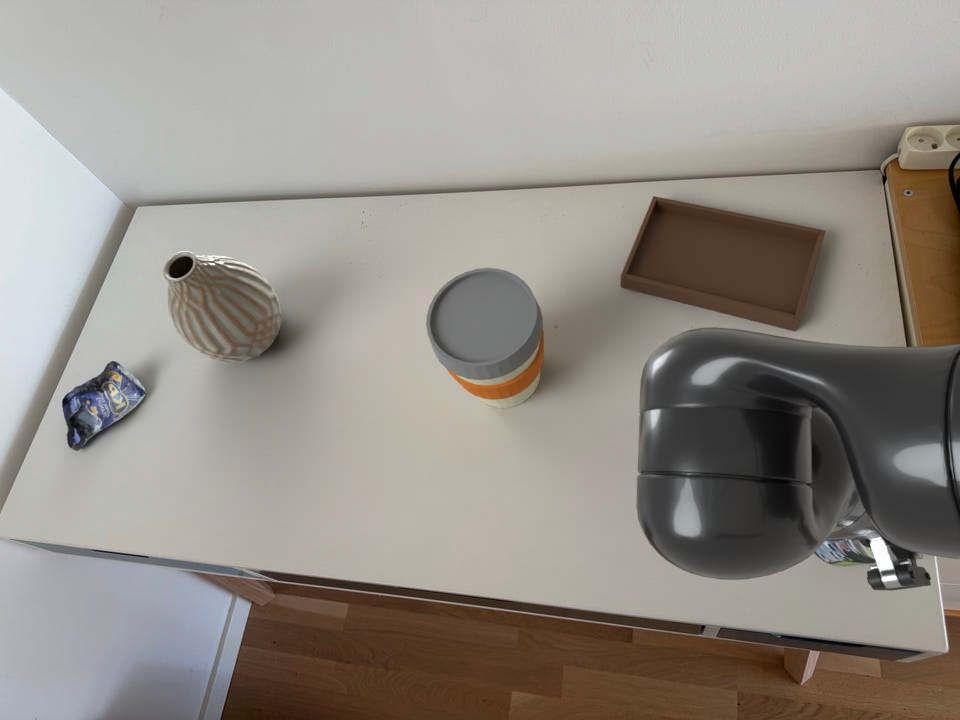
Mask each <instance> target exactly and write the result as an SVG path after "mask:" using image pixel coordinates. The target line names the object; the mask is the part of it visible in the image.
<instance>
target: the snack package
mask: <svg viewBox="0 0 960 720" xmlns="http://www.w3.org/2000/svg"><path fill="white" fill-rule="evenodd" d="M146 394H147V391H146V388H145V387H144V385H143V384H142V383H141V382H140V380H139V379H138V378H137V377H136V376H135V375H133V374H132V373H131V372H130V371H128V370H127V369H126V368H125V367H124V366H123V365H121V363H120V362H118V361H115V360H111V361H109V362H108V363H107V364H106V365H105V367H104V369H103V371H101V373H100V374H98V375H97V376H95V377H92V378H91V379H89V380H87V381H85V382H84V383H82V384H81V385H76V386H75V387H73V389H72V390H71V391H69V392H67V393H66V394H65V395H64V397H63V398H62V401H61V408H62V413H63V417H64V420H65V424H66V426H67V428H68V429H67V433H66V437H67V438H66V441H67V445H68V447H69V449H71V450H73V451H75V452H78V451H80V450H81V449H83V447H84V445H86V444H87V442H88V441H89V440H90V439H92V438H93V436H95V435H97V434H98V433H100V432H101V431H102V430H104V429H106V428H108V427H110V426H111V425H113V424H114V423H115V422H117V421H119V420H121V419H122V418H124V417H125V416H126V415H128V414H129V413H130V412H131V411H132V410H134V409H135V408H136V407H137V406H138V405H139V403H140V402H141V401H143V399H144V398H145V396H146Z"/></svg>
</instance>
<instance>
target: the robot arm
mask: <svg viewBox="0 0 960 720" xmlns="http://www.w3.org/2000/svg"><path fill="white" fill-rule="evenodd" d="M641 372H642V373H641V376H640V382H639V383H640V384H639V385H640V386H639V405H638V406H639V408H638V409H639V410H638V413H639V416H638V442H637V443H638V444H637V445H638V446H637V473H638V475H637V476H636V513H637V519H638V520H637V521H638V524H639V527H640V530H641V532H642V533H643V536H644V537H645V539H646V540H647V543H649V545H650V546H651V547H652V548H653V549H654V550H655V552H656V553H657V554H658V555H659V556H660V557H661V558H663V559H664V561H667V562H668V563H670V564H671V565H673V566H675V567H676V568H677V569H680V570H681V571H684V572H686V573H688V574H692V575H695V576H699V577H701V578H708V579H713V580H714V579H715V580H723V581H724V580H726V581H742V580H743V581H744V580H751V579H757V578H763V577H768V576H771V575H775V574H778V573H781V572H784V571H786V570H789V569H790V568H793V567H795V566H797V565H799V564H801V563H803V562H804V561H806V560H807V559H809V558H811V556H812V555H815V554H814V553H815V552H816V551H817V550H818V548H819V547H820V546H821V545H822V544H823V543H824V542H825V541H833V542H840V541H843V540H847V539H852V540H858V541H859V542H860V543H861V544H862V545H863V546H864V547H867V548H871V549H872V552H873V554H874V557H875V560H876V563H870V564H869V569H870V570H867V571H866V575H867V577H866V580H867V583H868V585H870V587H871V588H872V590H873V591H889V592H890V591H898V590H900V591H901V590H908V589H915V588H922V587H929V586H932V585H931V584H932V582H931V580H932V577H931V575H930V572H928V571H927V569H926V568H925V567H924V566H919V565H918V564H917V560H922V559H924V558H923V557H924V556H923V555H926V556H930V557H931V556H932V557H939V558H945V559H946V558H947V559H953V560H954V559H955V560H960V343H951V344H942V345H941V344H940V345H924V346H923V345H922V346H920V345H919V346H875V345H874V346H873V345H855V344H845V343H833V342H832V343H831V342H820V341H813V340H804V339H799V338H791V337H787V336H780V335H775V334H768V333H764V332H757V331H752V330H751V331H750V330H745V329H739V328H728V327H716V326H713V327H699V328H693V329H689V330H686V331H682V332H680V333H678V334H676V335H674V336H672V337H670V338H669V339H667V340H666V341H665V342H663V343H662V344H660V345H659V346H658V347H657V348H656V349H655V350H654V351H653V352H652V353H651V354H650V356H649V357H648V359H647V360H646V362H645V363H644V366H643V368H642V371H641Z"/></svg>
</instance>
